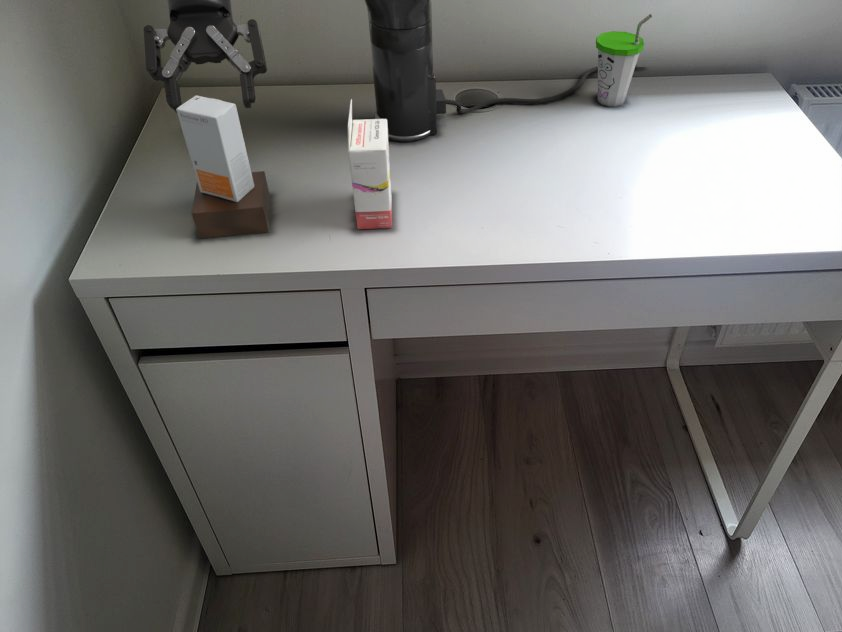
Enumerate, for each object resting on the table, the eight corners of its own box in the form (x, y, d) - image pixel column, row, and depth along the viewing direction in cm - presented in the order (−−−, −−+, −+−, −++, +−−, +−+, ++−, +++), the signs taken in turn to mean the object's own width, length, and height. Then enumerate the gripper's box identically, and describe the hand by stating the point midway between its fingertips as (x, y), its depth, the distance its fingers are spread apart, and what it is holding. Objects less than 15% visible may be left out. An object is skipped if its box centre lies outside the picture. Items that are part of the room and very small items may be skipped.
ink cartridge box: (393, 229, 96) (386, 127, 85) (356, 230, 95) (344, 129, 85) (393, 194, 102) (385, 95, 91) (358, 195, 101) (346, 96, 91)
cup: (578, 98, 123) (589, 8, 113) (610, 86, 127) (624, -3, 116) (610, 115, 119) (625, 23, 108) (643, 103, 122) (660, 12, 112)
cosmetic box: (199, 193, 94) (173, 108, 86) (218, 178, 97) (195, 93, 88) (238, 203, 92) (215, 117, 84) (256, 187, 95) (236, 102, 87)
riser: (269, 195, 101) (264, 170, 98) (268, 232, 95) (262, 207, 92) (204, 201, 100) (197, 176, 97) (199, 238, 94) (191, 213, 91)
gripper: (127, -33, 85) (144, 102, 85) (249, -39, 87) (266, 93, 87) (147, -2, 92) (163, 122, 92) (259, -8, 94) (274, 114, 94)
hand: (213, 108), depth 89 cm, fingers open, 8 cm apart
